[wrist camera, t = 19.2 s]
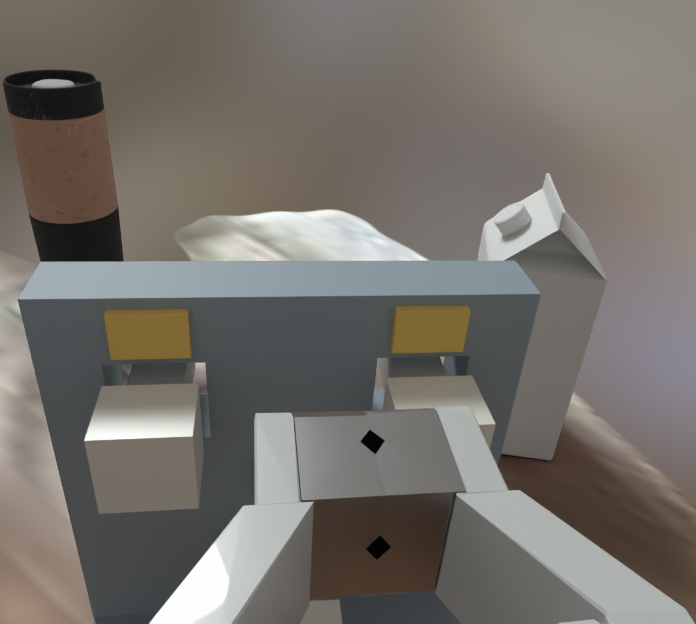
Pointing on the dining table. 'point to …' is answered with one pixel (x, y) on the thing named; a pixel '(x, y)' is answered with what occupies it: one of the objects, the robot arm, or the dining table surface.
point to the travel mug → (65, 164)
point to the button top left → (147, 441)
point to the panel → (253, 383)
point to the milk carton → (547, 312)
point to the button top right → (431, 389)
